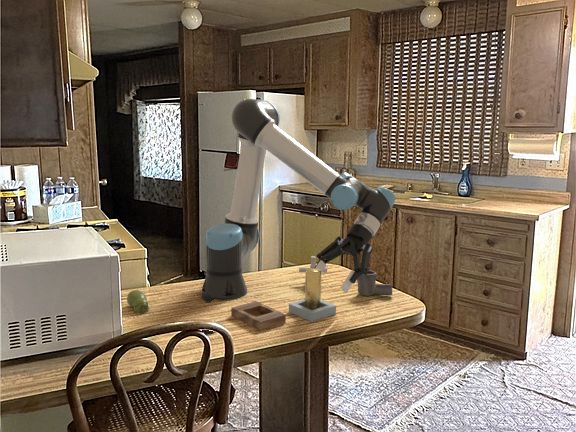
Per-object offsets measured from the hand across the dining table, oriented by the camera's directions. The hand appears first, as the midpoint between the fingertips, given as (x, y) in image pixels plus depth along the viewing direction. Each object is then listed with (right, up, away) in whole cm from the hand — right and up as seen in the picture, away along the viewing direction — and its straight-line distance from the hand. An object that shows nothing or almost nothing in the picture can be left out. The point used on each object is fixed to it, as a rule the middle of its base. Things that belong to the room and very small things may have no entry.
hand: (327, 284), depth 164 cm
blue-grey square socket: (-5, -9, -2) cm, 11 cm away
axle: (-5, -8, -2) cm, 10 cm away
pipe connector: (-3, -4, +30) cm, 30 cm away
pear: (-58, -8, +3) cm, 59 cm away
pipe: (+17, -6, +19) cm, 26 cm away
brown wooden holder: (-21, -10, -8) cm, 24 cm away
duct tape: (-34, -12, -16) cm, 39 cm away
